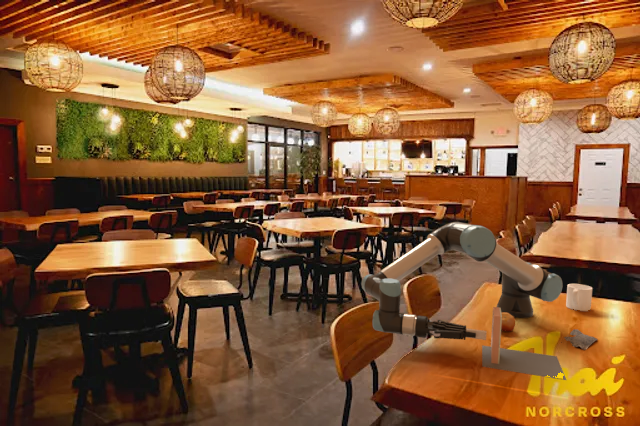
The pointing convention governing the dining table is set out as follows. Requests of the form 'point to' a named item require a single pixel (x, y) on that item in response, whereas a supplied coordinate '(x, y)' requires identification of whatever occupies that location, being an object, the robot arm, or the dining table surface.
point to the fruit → (507, 322)
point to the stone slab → (580, 339)
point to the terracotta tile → (496, 335)
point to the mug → (579, 297)
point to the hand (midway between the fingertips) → (486, 335)
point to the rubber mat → (523, 362)
